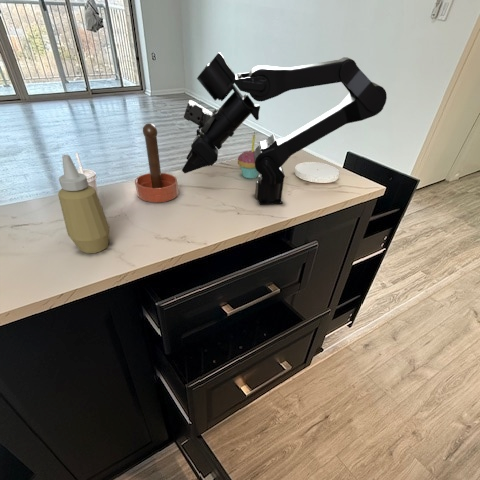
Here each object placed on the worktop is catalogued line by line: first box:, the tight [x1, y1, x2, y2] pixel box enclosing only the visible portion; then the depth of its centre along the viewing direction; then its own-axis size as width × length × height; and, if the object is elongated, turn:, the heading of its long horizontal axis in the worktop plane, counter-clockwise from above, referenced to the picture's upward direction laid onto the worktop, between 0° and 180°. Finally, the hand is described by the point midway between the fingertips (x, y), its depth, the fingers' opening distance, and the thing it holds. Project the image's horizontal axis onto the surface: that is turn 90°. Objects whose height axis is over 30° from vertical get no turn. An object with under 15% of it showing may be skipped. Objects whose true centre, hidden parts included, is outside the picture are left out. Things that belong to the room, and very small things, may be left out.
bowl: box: [134, 172, 179, 204], centre depth 86 cm, size 11×11×4 cm
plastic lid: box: [294, 161, 340, 184], centre depth 102 cm, size 14×14×2 cm
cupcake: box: [237, 131, 260, 179], centre depth 97 cm, size 9×8×12 cm
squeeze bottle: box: [57, 154, 111, 254], centre depth 61 cm, size 8×8×18 cm
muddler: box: [142, 123, 163, 188], centre depth 81 cm, size 4×4×17 cm
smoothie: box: [74, 152, 99, 197], centre depth 73 cm, size 6×6×14 cm
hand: (185, 165), depth 82 cm, fingers open, 9 cm apart
